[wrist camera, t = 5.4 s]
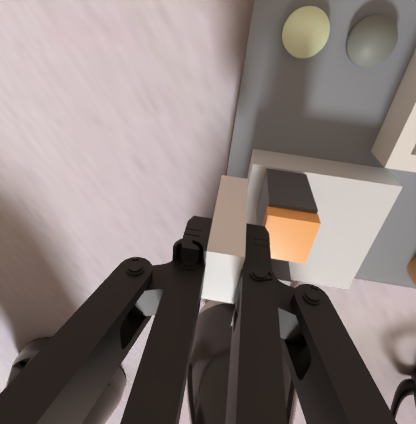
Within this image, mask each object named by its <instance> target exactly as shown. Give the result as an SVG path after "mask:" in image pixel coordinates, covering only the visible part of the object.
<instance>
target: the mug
mask: <svg viewBox="0 0 416 424" xmlns="http://www.w3.org/2000/svg"><path fill="white" fill-rule="evenodd" d="M411 377H412V379H405V380H403V381H402V382H401V383H400V384H399V386H398V388H397V390H396V392H395V395H394V399H393V402H392V405H391V409H390V411H391V413H392V415H393V417H394V419H395V418H396V414H397V411H398V408H399V406H400V404H401V402H402V400H403V399H404V398H405V397H406V396H408V395H414V400H415V406H416V369H414V371H413V372H412V375H411Z"/></svg>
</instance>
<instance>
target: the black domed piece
mask: <svg viewBox="0 0 416 424" xmlns="http://www.w3.org/2000/svg"><path fill="white" fill-rule="evenodd" d="M234 309H235V304H232V303H226V302H220V301H214V300H209V301H208V302H207V303H206V304H205V305H204V306H203V308H202V309H201V311H200V312H199V314H198V319H197V325H196V330H195V336H194V342H193V347H192V353H191V358H190V364H189V369H188V375H187V380H186V388H187V401H188V411H189V419H190V424H225V421H226V407H227V393H228V379H229V366H230V352H231V338H232V326H231V322H232V318H233V313H234ZM281 351H282V364H283V377H284V390H285V403H286V416H287V424H294V418H295V412H296V406H297V398H298V396H297V393H296V390H295V387H294V384H293V381H292V377H291V374H290V371H289V368H288V365H287V362H286V359H285V356H284V353H283V350H282V347H281Z"/></svg>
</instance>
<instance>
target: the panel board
mask: <svg viewBox="0 0 416 424" xmlns="http://www.w3.org/2000/svg"><path fill="white" fill-rule="evenodd" d="M266 168H268V169H275V170H281V171H288V172H294V173H301V174H306V175H307V178H308V181H309V184H310V187H311V190H312V193H313V197H314V200H315V203H316V206H317V209H318V212H317V214H318V216H319V219H320V222H321V225H320V227H319V230H318V232H317V235H316V237H315V240H314V242H313V245H312V248H311V250H310V253H309V255H308V258H307V260H306V263H305V264H303V263H296V262H290V261H289V268H290V275H291V280H294V281H300V282H306V283H312V284H318V285H324V286H330V287H336V288H342V289H348V288H349V287H350V285H351V283H352V281H353V279H354V278H356V279H362V280H368V281H374V282H380V283H386V284H392V285H398V286H404V287H410V288H416V287H415V286H414V284H413V282H412V281H411V279H410V277H409V275H408V274H407V265H408V264H409V262H410V261H411V260H412V259H413V258H414V257H416V0H254V3H253V10H252V16H251V22H250V29H249V35H248V41H247V48H246V54H245V60H244V67H243V73H242V79H241V86H240V92H239V98H238V105H237V111H236V117H235V124H234V130H233V136H232V143H231V149H230V155H229V162H228V168H227V174H226V176H232V177H239V178H245V179H248V193H247V220H246V223H248V224H254V225H257V215H256V209H257V205H258V201H259V197H260V192H261V188H262V184H263V180H264V175H265V171H266Z"/></svg>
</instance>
